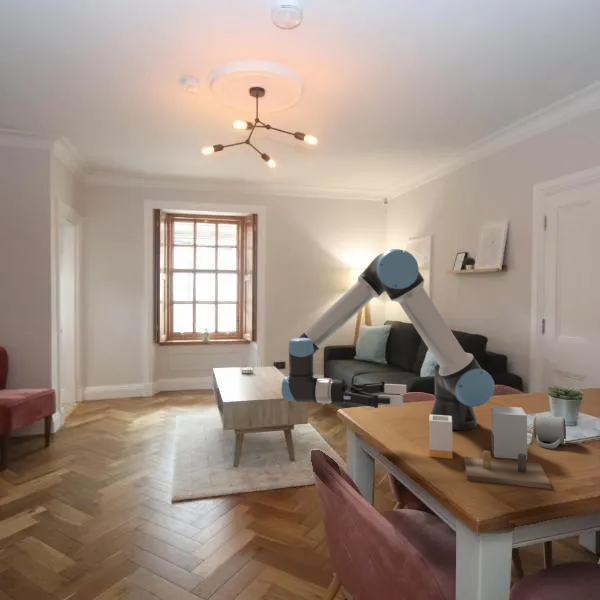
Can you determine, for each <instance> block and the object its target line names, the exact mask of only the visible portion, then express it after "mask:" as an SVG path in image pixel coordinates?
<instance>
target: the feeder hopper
mask: <svg viewBox="0 0 600 600" xmlns="http://www.w3.org/2000/svg"><path fill="white" fill-rule="evenodd" d="M490 422H491V423H490V424H491V425H490V427H491V428H490V432H491V434H490V435H491V436H490V438H491V440H490V441H491V445H490V446H491V450H492V453H493V457H494V458H501V459H512V460H518V454H520V453H521V454H525V455H526V461H527V460H528V415H527V413H526V412H525V411H524V409H523V407H520V406H519V407H517V406H504V405H503V406H501V405H491V406H490Z"/></svg>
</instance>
